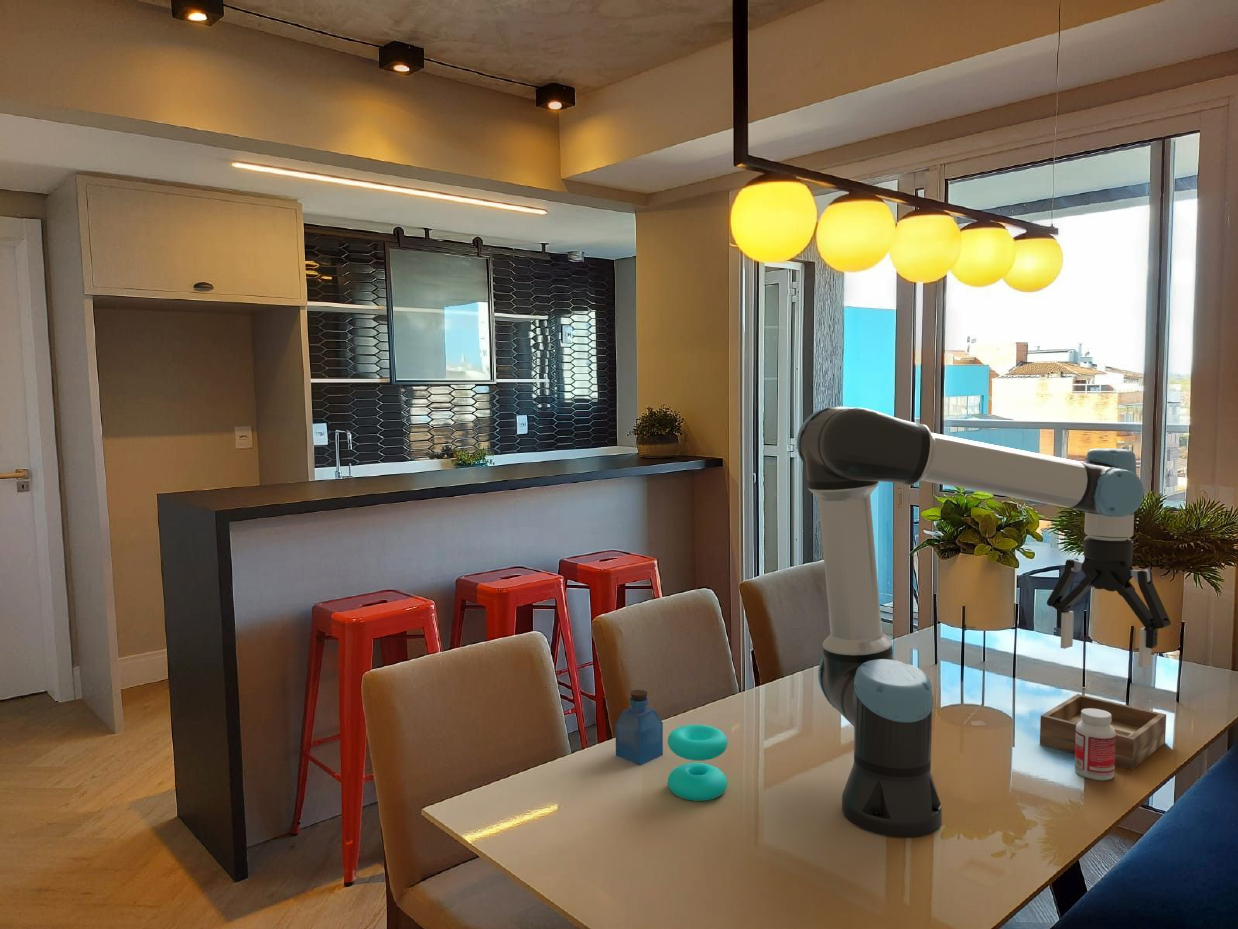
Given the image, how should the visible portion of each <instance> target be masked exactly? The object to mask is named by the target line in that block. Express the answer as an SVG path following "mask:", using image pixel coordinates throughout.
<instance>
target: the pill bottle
mask: <svg viewBox="0 0 1238 929" xmlns="http://www.w3.org/2000/svg"><path fill="white" fill-rule="evenodd" d="M1081 719H1082V721H1080V722H1079V723H1078V724H1077V725H1076V738H1075V754H1074V771H1075V773H1077V774H1078V775H1080V776H1081V777H1082V778H1083V777H1084V778H1086V779H1090V780H1094V781H1109V780H1112V779H1113V778H1114V777H1115V771H1116V770H1115V766H1116V765H1115V742H1116V732H1115V730H1114V728H1113V727H1112V726H1111V725H1110V724H1111V721H1112V716H1111V713H1109V712H1107V711H1104V710H1100V709H1092V708H1088V709H1083V710H1081Z"/></svg>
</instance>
